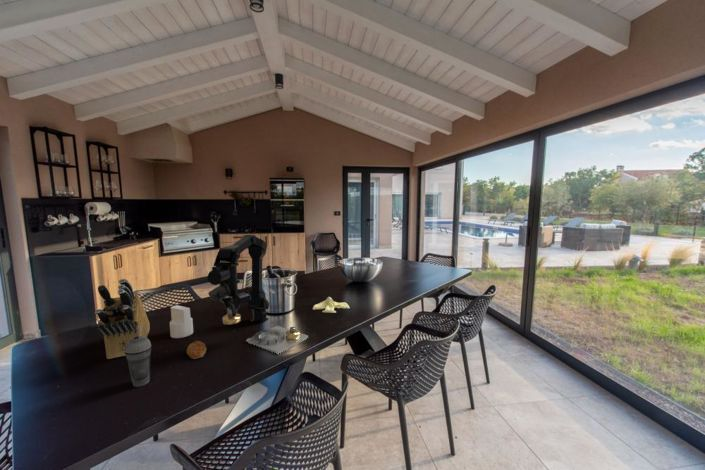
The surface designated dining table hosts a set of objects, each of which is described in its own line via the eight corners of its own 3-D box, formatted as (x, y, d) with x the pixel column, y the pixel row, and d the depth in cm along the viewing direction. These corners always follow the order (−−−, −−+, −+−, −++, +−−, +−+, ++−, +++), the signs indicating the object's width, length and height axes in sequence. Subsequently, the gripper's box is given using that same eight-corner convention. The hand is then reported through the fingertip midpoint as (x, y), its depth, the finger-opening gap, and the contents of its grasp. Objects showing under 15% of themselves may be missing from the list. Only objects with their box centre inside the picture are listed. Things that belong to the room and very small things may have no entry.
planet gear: (219, 322, 127) (218, 308, 127) (234, 316, 133) (233, 303, 132) (229, 325, 123) (228, 311, 123) (244, 320, 129) (243, 306, 128)
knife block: (97, 373, 107) (88, 286, 103) (120, 334, 138) (114, 266, 135) (137, 365, 112) (129, 282, 108) (150, 329, 143) (145, 263, 140)
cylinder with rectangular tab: (197, 331, 141) (196, 305, 139) (179, 339, 133) (177, 312, 131) (184, 328, 145) (182, 303, 143) (165, 335, 136) (163, 309, 135)
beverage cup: (136, 376, 105) (131, 319, 102) (159, 375, 105) (154, 319, 103) (122, 390, 97) (116, 329, 95) (146, 388, 98) (141, 328, 96)
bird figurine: (355, 306, 174) (354, 295, 173) (333, 316, 159) (333, 305, 158) (325, 299, 187) (324, 289, 186) (302, 308, 172) (302, 297, 171)
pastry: (208, 357, 118) (208, 347, 118) (189, 362, 114) (188, 352, 114) (204, 347, 126) (204, 338, 125) (186, 352, 122) (185, 343, 122)
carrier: (246, 342, 130) (246, 330, 129) (277, 328, 144) (277, 317, 143) (278, 354, 119) (277, 341, 118) (308, 338, 133) (307, 326, 132)
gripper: (197, 279, 125) (200, 316, 127) (225, 286, 114) (227, 327, 116) (223, 273, 134) (224, 308, 136) (250, 279, 123) (252, 317, 125)
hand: (231, 315), depth 128 cm, fingers closed on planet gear, 3 cm apart
